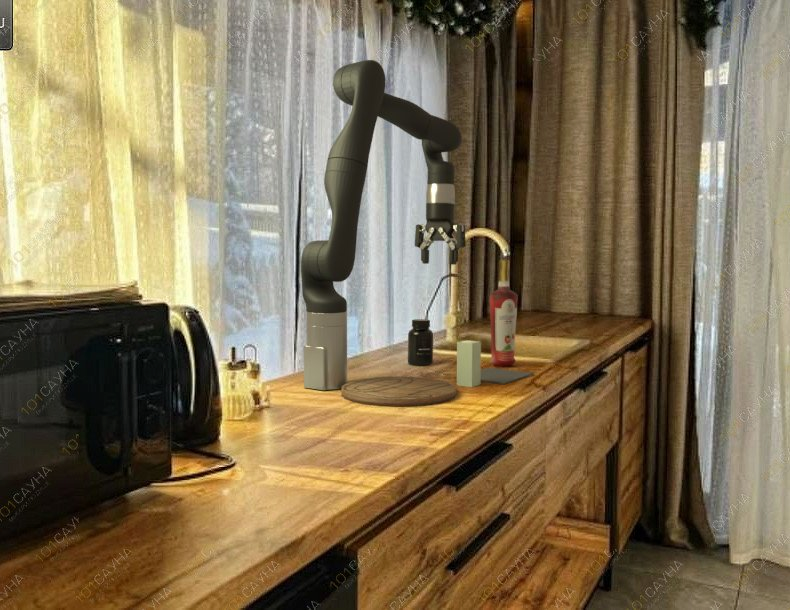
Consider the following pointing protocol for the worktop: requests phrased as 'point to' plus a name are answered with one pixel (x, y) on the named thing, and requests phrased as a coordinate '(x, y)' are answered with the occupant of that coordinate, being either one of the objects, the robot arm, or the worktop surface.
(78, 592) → the worktop surface
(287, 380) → the worktop surface
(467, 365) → the block
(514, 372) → the mat
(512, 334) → the red sauce bottle
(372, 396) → the trivet
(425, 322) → the supplement bottle
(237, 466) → the worktop surface
